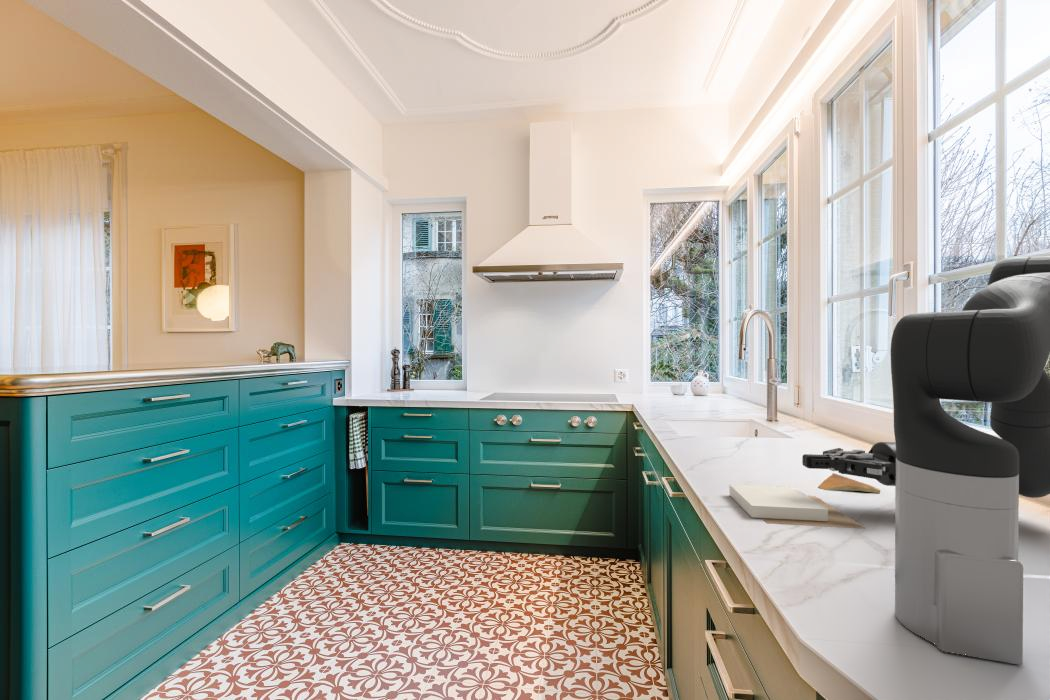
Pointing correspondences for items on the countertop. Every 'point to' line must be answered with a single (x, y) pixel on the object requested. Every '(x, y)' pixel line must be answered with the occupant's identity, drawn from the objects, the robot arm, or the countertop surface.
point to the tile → (777, 503)
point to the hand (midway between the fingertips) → (804, 461)
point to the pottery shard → (845, 484)
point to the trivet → (833, 521)
